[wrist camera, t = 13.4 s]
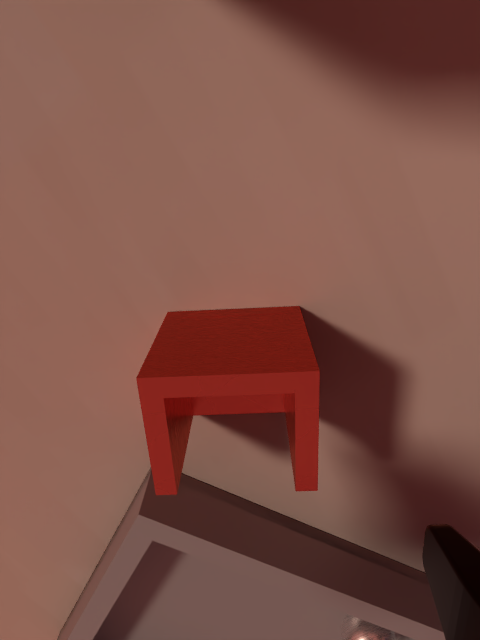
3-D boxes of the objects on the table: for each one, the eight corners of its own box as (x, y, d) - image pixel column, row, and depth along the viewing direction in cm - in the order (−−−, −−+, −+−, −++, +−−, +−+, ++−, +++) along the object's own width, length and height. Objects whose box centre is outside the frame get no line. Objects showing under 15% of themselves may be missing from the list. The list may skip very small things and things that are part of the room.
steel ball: (407, 658, 25) (381, 600, 27) (406, 658, 22) (377, 594, 24) (359, 678, 25) (336, 618, 27) (353, 680, 23) (329, 615, 25)
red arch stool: (299, 305, 20) (319, 370, 14) (299, 400, 21) (317, 490, 16) (167, 311, 20) (136, 377, 14) (179, 404, 22) (155, 495, 16)
